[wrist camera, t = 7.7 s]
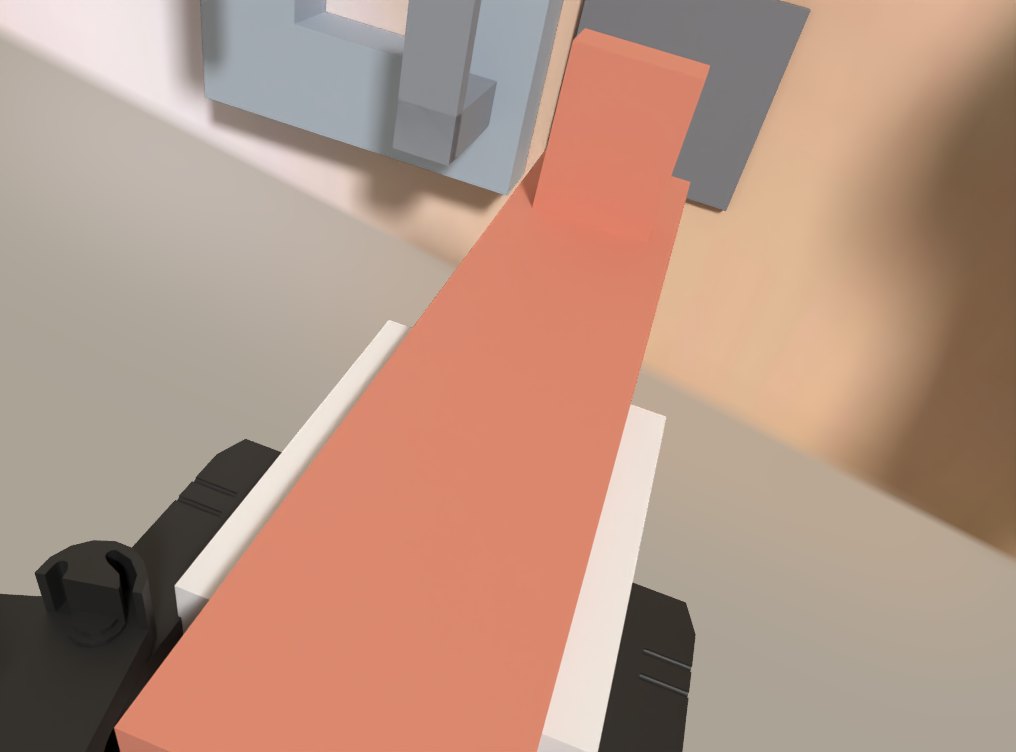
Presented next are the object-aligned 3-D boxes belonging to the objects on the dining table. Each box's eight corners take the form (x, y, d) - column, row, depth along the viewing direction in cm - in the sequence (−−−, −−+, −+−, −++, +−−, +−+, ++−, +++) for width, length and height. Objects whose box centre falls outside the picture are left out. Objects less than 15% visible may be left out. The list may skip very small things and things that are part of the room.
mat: (809, 9, 31) (810, 11, 31) (726, 207, 36) (725, 210, 36) (599, -51, 32) (597, -50, 31) (549, 151, 37) (547, 154, 37)
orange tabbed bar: (589, -6, 19) (43, 457, 5) (744, 39, 19) (618, 682, 5) (500, 353, 26) (173, 956, 12) (611, 392, 26) (403, 1061, 12)
